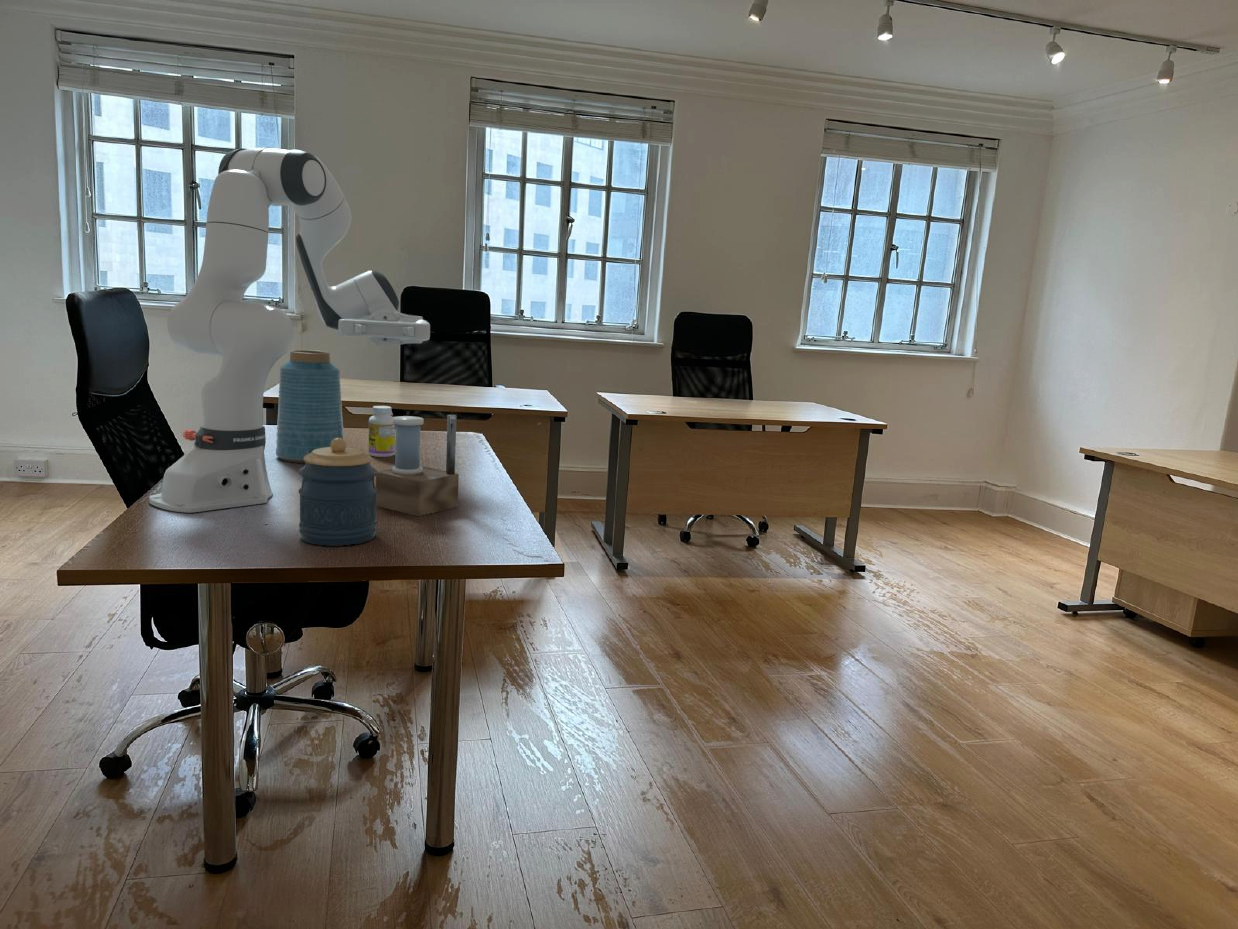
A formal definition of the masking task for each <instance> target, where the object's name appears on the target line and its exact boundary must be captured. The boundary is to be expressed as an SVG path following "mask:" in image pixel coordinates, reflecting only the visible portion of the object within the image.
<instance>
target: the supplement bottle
mask: <svg viewBox="0 0 1238 929" xmlns="http://www.w3.org/2000/svg"><path fill="white" fill-rule="evenodd" d="M372 413H373V415H371V416H370V417H369V419H368V455H370V456H371V457H374V458H389V457H390V458H391V457H393V456H395V443H396V424H393V417H394V416H392V415H391V413H392V407H391V406H389V405H373V406H372Z"/></svg>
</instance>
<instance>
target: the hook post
mask: <svg viewBox="0 0 1238 929" xmlns="http://www.w3.org/2000/svg"><path fill="white" fill-rule="evenodd" d="M446 419H447V420H446V421H447V422H446V423H447V424H446V454H445V456H446V458H445V460H446V461H445V471H446V474H450V475H452V474H455V473H456V448H457V447H456V446H457V414H447V418H446Z"/></svg>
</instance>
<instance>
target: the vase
mask: <svg viewBox="0 0 1238 929" xmlns="http://www.w3.org/2000/svg"><path fill="white" fill-rule="evenodd" d="M279 371H280V372H279V381H278V382H279V387H278V388H279V389H278V406H277V407H278V410H277V412H278V413H277V421H276V423H277V426H276V430H277V431H276V441H275V443H276V447H275V455H276V456H277V457H278V458H279V459H281V460H283V461H284V462H290V463H293V464H294V463H295V464H306V462H305V461H304V457H305V456H306V455H308V454H310V453H311V452H312V451H313V450H315V449H319V448H326V447H330V444H331V441H332V440H333V439H335V438H342V439H344V437H345V432H344V421H343V410H342V409H343V408H342V407H343V406H342V405H343V403H342V392H341V378H340V376H341V375H340V372H341V370H340V368H339V367H338V366H337V365H335V364H333V363H332V362H331V356H330V352H329V351H323V350H313V349H312V350H310V349H308V350H307V349H300V350H299V349H296V350H290V352H289V361H287V362H285V363H284V364H282V365H281V366H279Z"/></svg>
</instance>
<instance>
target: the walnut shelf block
mask: <svg viewBox="0 0 1238 929" xmlns="http://www.w3.org/2000/svg"><path fill="white" fill-rule="evenodd" d="M421 466H422V467H423V471H422V473H421V474H417V475H399V474H394V473H392V468H389V469H386V470H385V469H384V470H380V471H377V474H376V476H375V487H376V489H377V492H376V507H378V508H383V507H384V509H387V508H388V509H387V510H391V511H395V510H397V511H396V512H398V511H400V512H399V513H402V512H403V513H402V514H406V513H409V514H408V515H410V514H412V515H411V516H414V515H416V516H415V517H418V516H420V517H423V515H424V516H427V515H426V514H428V515H430V514H429V513H432V514H436V513H439V512H438V511H440V512H443V511H442V510H444V511H447V509H448V510H450V508H452V509H455V508H454V507H456V508H458V504H459V477H460V476H459V473H456V472H455V474H452V475H450V474H446V470H441V469H437V468H433V467H428V466H423V465H421ZM435 512H436V513H435Z"/></svg>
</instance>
